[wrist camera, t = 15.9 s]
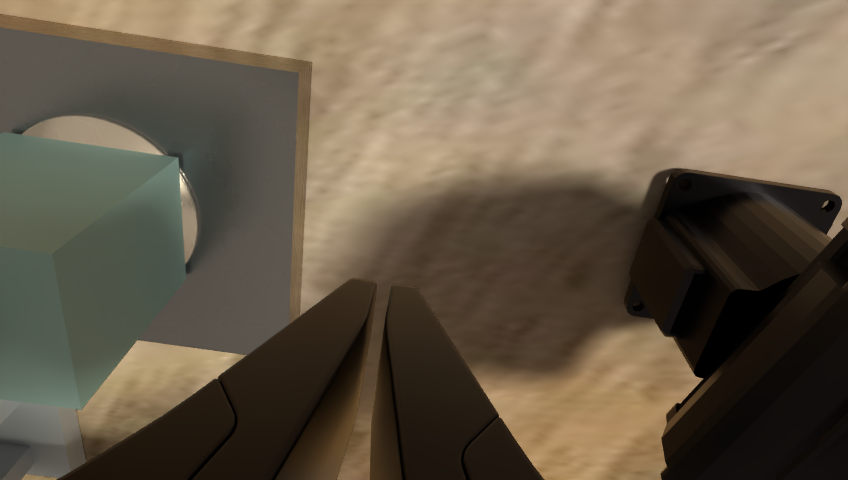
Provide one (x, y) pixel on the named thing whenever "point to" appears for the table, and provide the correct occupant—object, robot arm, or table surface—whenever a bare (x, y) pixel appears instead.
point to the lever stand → (38, 440)
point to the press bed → (185, 158)
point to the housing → (81, 262)
